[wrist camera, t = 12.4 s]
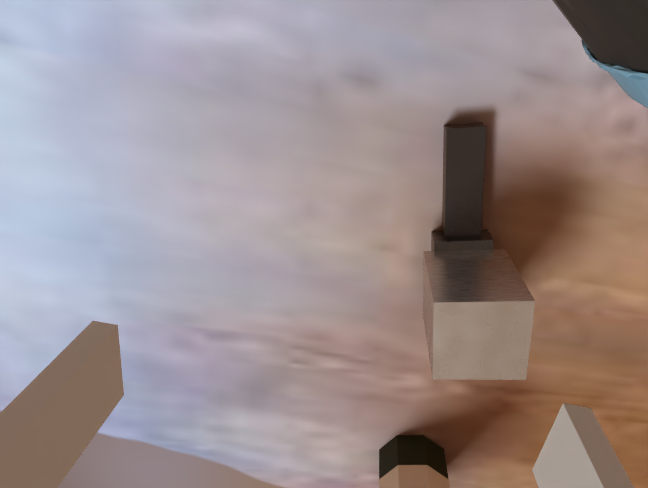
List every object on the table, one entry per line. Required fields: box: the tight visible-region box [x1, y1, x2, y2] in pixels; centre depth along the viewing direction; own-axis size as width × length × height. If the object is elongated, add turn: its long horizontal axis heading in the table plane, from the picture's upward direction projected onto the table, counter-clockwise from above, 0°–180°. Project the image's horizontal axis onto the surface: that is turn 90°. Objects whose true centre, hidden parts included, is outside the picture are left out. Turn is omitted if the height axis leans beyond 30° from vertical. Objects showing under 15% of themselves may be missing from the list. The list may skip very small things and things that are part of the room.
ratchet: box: [431, 123, 494, 251], centre depth 41 cm, size 19×5×6 cm, turn 5°
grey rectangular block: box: [423, 249, 535, 380], centre depth 39 cm, size 7×7×9 cm
